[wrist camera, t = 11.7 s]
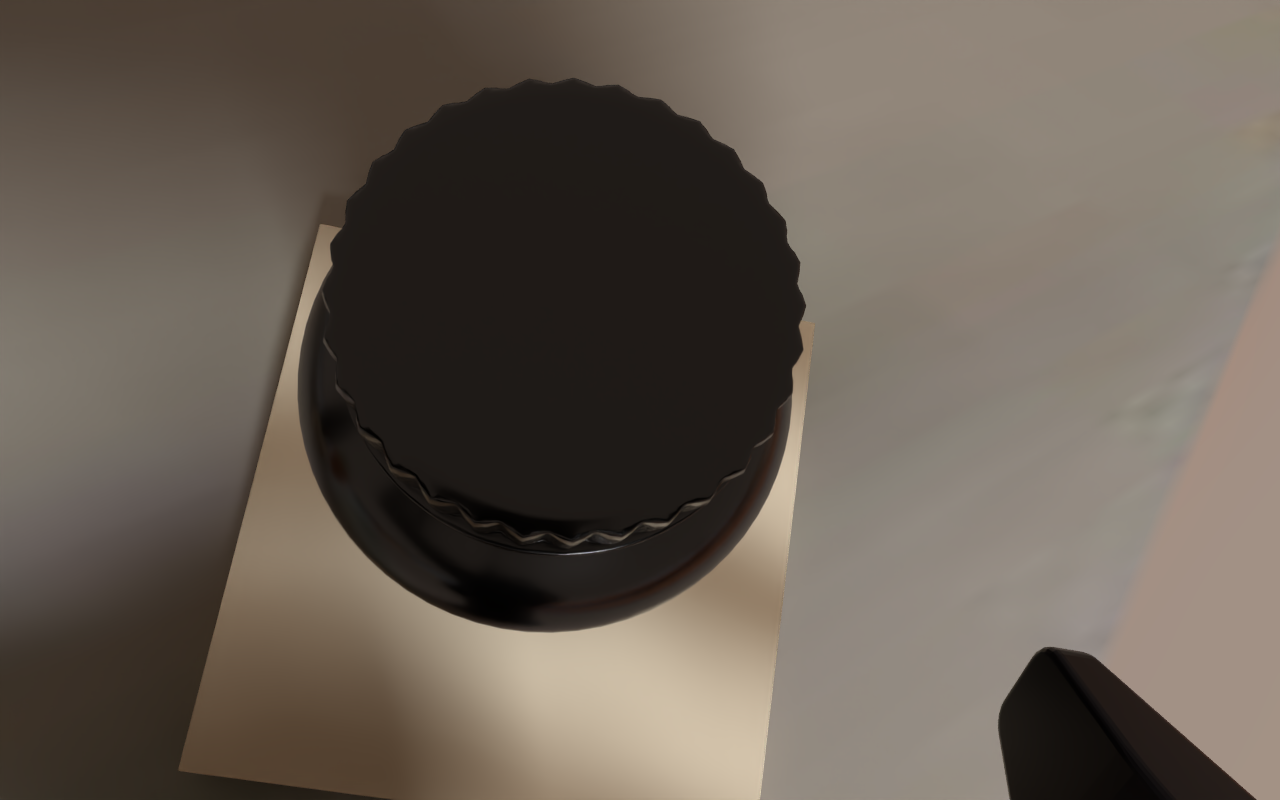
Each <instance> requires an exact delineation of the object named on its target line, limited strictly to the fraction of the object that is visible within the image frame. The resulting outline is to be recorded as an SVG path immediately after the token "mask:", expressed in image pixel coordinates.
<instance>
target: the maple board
mask: <svg viewBox="0 0 1280 800" xmlns="http://www.w3.org/2000/svg"><path fill="white" fill-rule="evenodd" d="M341 229H342V228H339V227H334V226H329V225H324V224H320V226H319V230H318V234H317V238H316V241H315V245H314V249H313V253H312V257H311V261H310V265H309V268H308V272H307V276H306V280H305V284H304V288H303V291H302V295H301V299H300V303H299V307H298V311H297V314H296V318H295V322H294V326H293V330H292V334H291V338H290V341H289V345H288V349H287V353H286V357H285V361H284V364H283V368H282V372H281V376H280V380H279V384H278V388H277V391H276V395H275V399H274V403H273V407H272V411H271V414H270V418H269V422H268V426H267V430H266V434H265V437H264V441H263V445H262V449H261V453H260V457H259V461H258V464H257V468H256V472H255V476H254V480H253V484H252V487H251V491H250V495H249V499H248V503H247V507H246V511H245V514H244V518H243V522H242V526H241V530H240V534H239V537H238V541H237V545H236V549H235V553H234V557H233V560H232V564H231V568H230V572H229V576H228V580H227V584H226V587H225V591H224V595H223V599H222V603H221V607H220V610H219V614H218V618H217V622H216V626H215V630H214V634H213V637H212V641H211V645H210V649H209V653H208V657H207V660H206V664H205V668H204V672H203V676H202V680H201V683H200V687H199V691H198V695H197V699H196V703H195V707H194V710H193V714H192V718H191V722H190V726H189V730H188V733H187V737H186V741H185V745H184V749H183V753H182V757H181V760H180V764H179V768H178V771H183V772H190V773H197V774H205V775H212V776H220V777H227V778H235V779H242V780H250V781H257V782H265V783H272V784H280V785H287V786H295V787H302V788H309V789H317V790H324V791H332V792H339V793H347V794H354V795H362V796H369V797H377V798H384V799H392V800H760V794H761V785H762V777H763V768H764V759H765V751H766V742H767V733H768V725H769V716H770V707H771V699H772V690H773V682H774V673H775V664H776V656H777V647H778V638H779V630H780V621H781V612H782V604H783V595H784V586H785V578H786V569H787V561H788V552H789V543H790V535H791V526H792V517H793V509H794V500H795V491H796V483H797V474H798V465H799V457H800V448H801V439H802V431H803V422H804V414H805V405H806V396H807V388H808V379H809V370H810V362H811V353H812V344H813V336H814V327H815V323H811V322H806V321H801V322H800V325H799V329H800V333H801V336H802V342H803V348H804V350H803V353H802V354H801V356H800V358H799V360H798V362H797V363H796V364H795V365H794V367H793V368H792V376H793V394H792V409H791V419H790V428H789V433H788V438H787V443H786V448H785V452H784V456H783V459H782V462H781V465H780V469H779V472H778V475H777V477H776V479H775V482H774V484H773V487H772V489H771V491H770V494H769V496H768V498H767V500H766V502H765V503H764V505H763V507H762V509H761V511H760V513H759V515H758V516H757V518H756V519H755V521H754V522H753V524H752V525H751V527H750V528H749V530H748V531H747V533H746V534H745V536H744V537H743V538H742V539H741V540H740V542H739V543H738V544H737V545H736V546H735V548H734V549H733V550H732V551H731V552H730V554H729V555H728V556H727V557H726V558H725V559H724V560H723V561H722V562H720V563H719V564H718V565H717V566H716V567H715V568H714V569H713V570H712V571H711V572H710V573H709V574H707V575H706V576H705V577H704V578H702V579H701V580H700V581H699V582H697V583H696V584H695V585H694V586H692V587H691V588H689V589H688V590H686V591H685V592H683V593H681V594H680V595H678V596H677V597H675V598H674V599H672V600H670V601H668V602H666V603H664V604H662V605H660V606H658V607H656V608H655V609H653V610H651V611H648V612H646V613H643V614H641V615H638V616H635V617H633V618H630V619H628V620H624V621H621V622H617V623H614V624H610V625H607V626H603V627H597V628H592V629H586V630H580V631H571V632H557V633H540V632H522V631H514V630H507V629H500V628H496V627H492V626H487V625H483V624H479V623H475V622H472V621H469V620H467V619H464V618H461V617H458V616H455V615H452V614H450V613H448V612H446V611H444V610H441V609H439V608H437V607H435V606H433V605H431V604H429V603H427V602H425V601H424V600H422V599H420V598H419V597H417V596H415V595H414V594H412V593H410V592H409V591H407V590H406V589H404V588H403V587H402V586H400V585H399V584H398V583H396V582H395V581H393V580H392V579H391V578H389V577H388V576H387V575H385V574H384V573H383V572H382V571H381V570H380V569H379V568H378V567H377V566H376V565H375V564H373V563H372V562H371V561H370V560H369V559H368V558H367V557H366V556H365V555H364V554H363V553H362V551H361V550H360V549H359V548H358V547H357V546H356V545H355V544H354V542H353V541H352V540H351V539H350V538H349V536H348V535H347V534H346V532H345V531H344V529H343V528H342V527H341V525H340V524H339V522H338V521H337V520H336V518H335V517H334V515H333V513H332V511H331V510H330V508H329V506H328V504H327V503H326V501H325V499H324V497H323V495H322V493H321V491H320V489H319V486H318V484H317V482H316V479H315V477H314V475H313V473H312V470H311V467H310V463H309V460H308V457H307V454H306V451H305V447H304V442H303V437H302V432H301V427H300V421H299V410H298V400H297V392H298V367H299V359H300V350H301V345H302V340H303V336H304V331H305V327H306V323H307V320H308V317H309V314H310V311H311V308H312V305H313V302H314V300H315V298H316V295H317V293H318V291H319V289H320V287H321V285H322V282H323V280H324V278H325V277H326V275H327V273H328V271H329V270H330V268H331V266H332V265H333V263H332V261H331V254H330V243H331V242H332V240H333V239H334V237H335V236H336V234H337V233H338V232H339V231H340V230H341Z"/></svg>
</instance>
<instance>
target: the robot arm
mask: <svg viewBox="0 0 1280 800" xmlns="http://www.w3.org/2000/svg"><path fill="white" fill-rule="evenodd" d="M998 731H999V738H1000V744H1001V750H1002V756H1003V762H1004V768H1005V774H1006V780H1007V786H1008V792H1009V798H1010V800H1256V799H1255V798H1254V797H1253V796H1252V795H1251V794H1250V793H1248V792H1247V791H1246V790H1245V789H1244V788H1243V787H1241V786H1240V785H1239V784H1238V783H1237V782H1236V781H1235V780H1234V779H1232V778H1231V777H1230V776H1229V775H1228V774H1227V773H1226V772H1225V771H1223V770H1222V769H1221V768H1220V767H1219V766H1218V765H1217V764H1215V763H1214V762H1213V761H1212V760H1211V759H1210V758H1209V757H1207V756H1206V755H1205V754H1204V753H1203V752H1202V751H1201V750H1200V749H1198V748H1197V747H1196V746H1195V745H1194V744H1193V743H1192V742H1190V741H1189V740H1188V739H1187V738H1186V737H1185V736H1184V735H1183V734H1181V733H1180V732H1179V731H1178V730H1177V729H1176V728H1174V727H1173V726H1172V725H1171V724H1170V723H1169V722H1167V720H1165V719H1164V718H1163V717H1162V716H1161V715H1160V714H1159V713H1158V712H1156V711H1155V710H1154V709H1153V708H1152V707H1151V706H1150V705H1148V704H1147V703H1146V702H1145V701H1144V700H1143V699H1142V698H1141V697H1139V696H1138V695H1137V694H1136V693H1135V692H1134V691H1133V690H1131V689H1130V688H1129V687H1128V686H1127V685H1126V684H1125V683H1123V682H1122V681H1121V680H1120V679H1119V678H1118V677H1117V676H1116V675H1114V674H1113V673H1112V672H1111V671H1110V670H1109V669H1108V668H1106V667H1105V666H1104V665H1103V664H1102V663H1101V662H1100V661H1099V660H1097V659H1096V658H1095V657H1093V656H1091V655H1090V654H1087V653H1084V652H1080V651H1074V650H1068V649H1062V648H1056V647H1045V648H1043V649H1041V650H1039V651H1038V652H1036V653H1035V655H1034V656H1033V657H1032V659H1031V660H1030V662H1029V663H1028V665H1027V666H1026V668H1025V669H1024V671H1023V672H1022V674H1021V675H1020V677H1019V679H1018V680H1017V682H1016V683H1015V685H1014V686H1013V688H1012V689H1011V691H1010V692H1009V694H1008V695H1007V697H1006V699H1005V700H1004V702H1003V704H1002V706H1001V710H1000V713H999V719H998Z"/></svg>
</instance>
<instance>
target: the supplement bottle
mask: <svg viewBox="0 0 1280 800" xmlns="http://www.w3.org/2000/svg"><path fill="white" fill-rule="evenodd" d="M345 213H346V223H345V225H344V226H343V228H342V229H341V230H340V231H339V232H338V233H337V234H336V236H335V237H334V239H333V240H332V242H331V243H330V254H331V261H332V263H333V265H332V266H331V268H330V270H329V271H328V273H327V275H326V277H325V278H324V280H323V282H322V285H321V287H320V289H319V291H318V293H317V295H316V298H315V300H314V302H313V305H312V308H311V311H310V314H309V317H308V320H307V323H306V327H305V331H304V336H303V340H302V345H301V350H300V359H299V367H298V392H297V400H298V410H299V421H300V427H301V432H302V437H303V442H304V447H305V451H306V454H307V457H308V460H309V463H310V467H311V470H312V473H313V475H314V477H315V479H316V482H317V484H318V486H319V489H320V491H321V493H322V495H323V497H324V499H325V501H326V503H327V504H328V506H329V508H330V510H331V511H332V513H333V515H334V517H335V518H336V520H337V521H338V522H339V524H340V525H341V527H342V528H343V529H344V531H345V532H346V534H347V535H348V536H349V538H350V539H351V540H352V541H353V542H354V544H355V545H356V546H357V547H358V548H359V549H360V550H361V551H362V553H363V554H364V555H365V556H366V557H367V558H368V559H369V560H370V561H371V562H372V563H373V564H375V565H376V566H377V567H378V568H379V569H380V570H381V571H382V572H383V573H384V574H385V575H387V576H388V577H389V578H391V579H392V580H393V581H395V582H396V583H398V584H399V585H400V586H402V587H403V588H404V589H406V590H407V591H409V592H410V593H412V594H414V595H415V596H417V597H419V598H420V599H422V600H424V601H425V602H427V603H429V604H431V605H433V606H435V607H437V608H439V609H441V610H444V611H446V612H448V613H450V614H452V615H455V616H458V617H461V618H464V619H467V620H469V621H472V622H475V623H479V624H483V625H487V626H492V627H496V628H500V629H507V630H514V631H522V632H540V633H557V632H571V631H580V630H586V629H592V628H597V627H603V626H607V625H610V624H614V623H617V622H621V621H624V620H628V619H630V618H633V617H635V616H638V615H641V614H643V613H646V612H648V611H651V610H653V609H655V608H656V607H658V606H660V605H662V604H664V603H666V602H668V601H670V600H672V599H674V598H675V597H677V596H678V595H680V594H681V593H683V592H685V591H686V590H688V589H689V588H691V587H692V586H694V585H695V584H696V583H697V582H699V581H700V580H701V579H702V578H704V577H705V576H706V575H707V574H709V573H710V572H711V571H712V570H713V569H714V568H715V567H716V566H717V565H718V564H719V563H720V562H722V561H723V560H724V559H725V558H726V557H727V556H728V555H729V554H730V552H731V551H732V550H733V549H734V548H735V546H736V545H737V544H738V543H739V542H740V540H741V539H742V538H743V537H744V536H745V534H746V533H747V531H748V530H749V528H750V527H751V525H752V524H753V522H754V521H755V519H756V518H757V516H758V515H759V513H760V511H761V509H762V507H763V505H764V503H765V502H766V500H767V498H768V496H769V494H770V491H771V489H772V487H773V484H774V482H775V479H776V477H777V475H778V472H779V469H780V465H781V462H782V459H783V456H784V452H785V448H786V443H787V438H788V433H789V428H790V419H791V409H792V394H793V376H792V368H793V367H794V365H795V364H796V363H797V362H798V360H799V358H800V356H801V354H802V353H803V350H804V348H803V342H802V336H801V333H800V329H799V325H800V322H801V320H802V317H803V315H804V311H805V308H806V304H805V301H804V298H803V295H802V293H801V292H800V290H799V287H798V285H797V282H798V277H799V271H800V261H799V259H798V258H797V256H796V254H795V252H794V251H793V250H792V249H791V248H790V246H789V244H788V243H787V227H786V221H785V220H784V218H783V217H782V216H781V215H780V214H779V213H778V212H777V211H776V210H775V209H774V208H773V207H772V206H771V205H770V204H769V202H768V199H767V193H766V190H765V187H764V185H763V183H762V182H761V181H760V180H759V179H757V178H756V177H755V176H754V175H752V174H751V173H749V172H748V171H746V170H745V169H744V168H743V166H742V163H741V161H740V159H739V157H738V155H737V154H736V152H735V150H734V149H732V148H730V147H729V146H727V145H725V144H723V143H721V142H718V141H716V140H714V139H713V138H712V137H711V136H710V135H709V133H708V131H707V129H706V128H705V127H704V126H703V125H702V124H701V122H700V121H697V120H694V119H691V118H688V117H684V116H680V115H677V114H676V113H675V112H674V111H672V109H671V108H670V107H669V106H668V105H667V104H666V103H664V102H663V101H662V100H659V99H653V98H643V97H637V96H635V95H634V94H632V93H631V92H629V91H628V90H627V89H625V88H623V87H621V86H620V85H606V86H594V85H591V84H589V83H587V82H584V81H582V80H579V79H576V78H571V79H567V80H563V81H559V82H556V83H553V84H552V83H546V82H542V81H539V80H533V79H528V80H525V81H523V82H521V83H518V84H516V85H515V86H513V87H511V88H509V89H500V88H484V89H483V90H481V91H480V92H478V93H477V94H475V95H474V96H473V97H472V98H470V99H469V100H468V101H466V102H461V103H451V104H446V105H442V106H441V107H440V108H439V110H438V111H437V112H436V113H435V114H434V115H433V116H432V117H431V119H430V120H429V121H428V122H426V123H423V124H420V125H416V126H414V127H411V128H409V129H406V130H405V131H404V132H403V134H402V135H401V137H400V138H399V140H398V142H397V144H396V146H395V148H394V150H392V151H391V152H389V153H388V154H386V155H383V156H381V157H380V158H378V159H377V160H375V161H374V162H372V165H371V168H370V170H369V173H368V177H367V182H366V184H365V185H364V186H363V187H361V188H360V189H359V190H358V191H356V192H355V193H354V194H353V195H352V196H351V197H350V198H349V199H348V200H347V205H346V212H345Z"/></svg>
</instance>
